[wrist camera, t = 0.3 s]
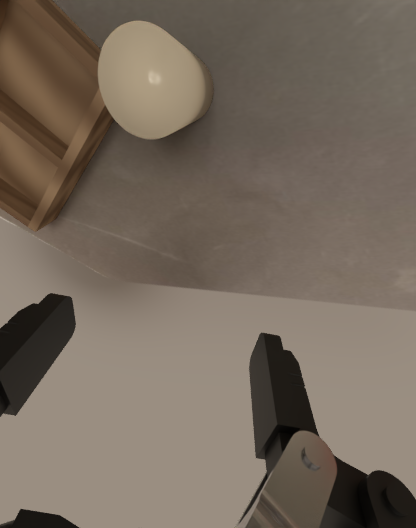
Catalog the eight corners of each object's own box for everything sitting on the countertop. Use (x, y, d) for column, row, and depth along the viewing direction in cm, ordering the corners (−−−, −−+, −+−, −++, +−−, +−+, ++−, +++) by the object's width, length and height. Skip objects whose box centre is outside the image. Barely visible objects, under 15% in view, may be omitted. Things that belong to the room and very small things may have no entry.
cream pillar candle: (181, 37, 22) (130, -12, 12) (225, 88, 24) (212, 82, 14) (147, 92, 24) (81, 90, 15) (188, 134, 26) (155, 158, 16)
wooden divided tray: (14, -38, 20) (-30, -64, 17) (134, 84, 24) (117, 82, 21) (-36, 152, 30) (-70, 159, 27) (55, 218, 34) (35, 232, 30)
